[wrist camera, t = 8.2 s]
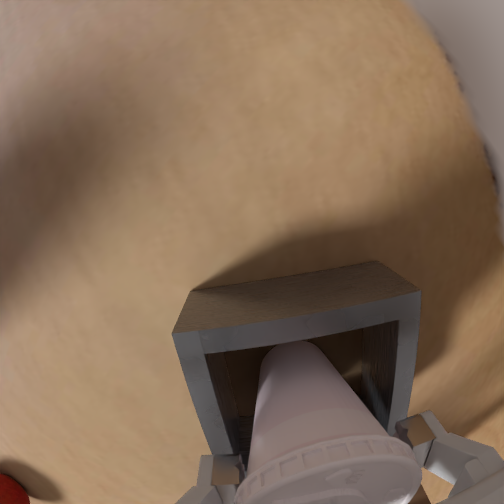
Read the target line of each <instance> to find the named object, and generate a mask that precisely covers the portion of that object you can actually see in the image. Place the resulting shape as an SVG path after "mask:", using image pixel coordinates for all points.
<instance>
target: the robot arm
mask: <svg viewBox="0 0 504 504" xmlns="http://www.w3.org/2000/svg"><path fill="white" fill-rule="evenodd" d="M394 428H395V430H396V432H395V433H394V435H393V437H396V438H398V439H400V440H401V441H403V442H405V443H407V444H408V445H409V446H410V447H411V449H412V451H413V453H414V454H415V459H416V461H417V463H418V464H419V466H420V468H422V467H424V468H425V469H427V470H429V471H430V472H432V473H434V474H436V475H437V476H439V477H441V478H443V479H444V480H446V481H448V482H450V483H452V484H453V485H454V487H453V488H452V490H451V492H450V494H449V496H448V498H447V499H445V500H443V501H441V502H439V503H436V504H504V461H503V459H502V458H501V457H500V455H499V454H498V453H497V452H496V450H495V449H494V448H493V447H491V446H488V445H485V444H482V443H479V442H476V441H473V440H470V439H467V438H464V437H462V436H459V435H456V434H453V433H451V432H450V433H447V432H446V430H445V429H444V428H443V426H442V425H441V424H440V422H439V421H438V419H437V418H436V417H435V415H434V414H433V413H432V411H430V410H428V411H425V412H423V413H420V414H417V415H414V416H411V417H408V418H405V419H403V420H400V421H397V422H396V423H395V427H394ZM246 477H247V475H246V469H245V466H244V464H242V456H241V453H237V454H215V455H202V456H201V458H200V463H199V471H198V478H197V486H193V487H192V488H191V489H190V490H189V491H188V492H187V493H185V494H184V495H183V496H182V497H181V498H180V499H179V500H178V501H177V502H176V503H175V504H235V503H234V498H235V495H236V492H237V489H238V487H239V486H240V484H241V483H242V482H243V481H244V480H245V479H246Z"/></svg>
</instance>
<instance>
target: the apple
mask: <svg viewBox="0 0 504 504" xmlns="http://www.w3.org/2000/svg"><path fill="white" fill-rule="evenodd" d="M0 504H30V501H29V497H28V495H27V494H26V492H25V490H24V489H23V487H22V486H21V485H20V484H18V483H17V482H16V481H15V480H13V479H12V478H11V477H9V476H7V475H5V474H0Z"/></svg>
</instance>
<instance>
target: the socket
mask: <svg viewBox="0 0 504 504" xmlns="http://www.w3.org/2000/svg"><path fill="white" fill-rule="evenodd" d="M420 309H421V290H420V289H418V288H417V287H415V286H414V285H413V284H411V283H410V282H408V281H407V280H405V279H404V278H403V277H401V276H400V275H398V274H397V273H395V272H394V271H392V270H391V269H389V268H388V267H386V266H385V265H383V264H382V263H381V262H379V261H375V262H369V263H364V264H358V265H352V266H347V267H341V268H335V269H329V270H323V271H317V272H311V273H305V274H299V275H293V276H287V277H281V278H274V279H268V280H261V281H255V282H248V283H242V284H235V285H228V286H222V287H215V288H208V289H201V290H193V291H190V293H189V295H188V297H187V299H186V302H185V304H184V306H183V308H182V311H181V313H180V315H179V318H178V320H177V322H176V325H175V327H174V329H173V332H172V337H173V340H174V344H175V347H176V350H177V354H178V357H179V360H180V364H181V367H182V370H183V373H184V376H185V379H186V383H187V386H188V389H189V392H190V395H191V398H192V401H193V403H194V406H195V409H196V412H197V415H198V418H199V421H200V423H201V426H202V429H203V431H204V434H205V437H206V439H207V442H208V445H209V447H210V450H211V452H212V455H215V454H237V453H241V456H242V464H244V466H245V469H246V475H247V468H248V459H249V454H250V447H251V439H252V432H253V424H254V416H255V415H250V416H242V417H239V413H238V409H237V405H236V401H235V397H234V393H233V389H232V385H231V381H230V377H229V372H228V368H227V364H226V360H225V355H224V352H225V351H233V350H240V349H248V348H255V347H262V346H268V345H275V344H281V343H287V342H293V341H299V340H305V339H310V338H315V337H321V336H326V335H331V334H336V333H341V332H346V331H350V330H355V329H360V328H362V380H361V395H359V396H358V397H359V399H360V400H361V401H362V402H363V404H364V405H365V406H366V407H367V409H368V410H369V411H370V412H371V414H372V415H373V416H374V417H375V419H376V420H377V421H378V422H379V423H380V424H381V426H382V427H383V428H384V430H385V431H386V432H387V433H388V435H389V436H390V437H393V435H394V433H395V432H396V430H395V428H394V427H395V423H396V422H397V421H400V420H403V419H405V418H407V413H408V407H409V402H410V396H411V390H412V384H413V377H414V370H415V363H416V355H417V346H418V335H419V324H420Z"/></svg>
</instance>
